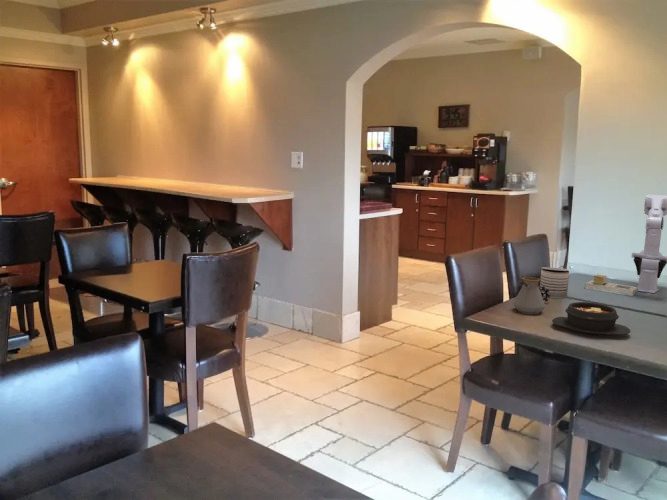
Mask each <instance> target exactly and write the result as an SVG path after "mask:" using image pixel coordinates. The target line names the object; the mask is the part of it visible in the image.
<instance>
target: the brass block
mask: <svg viewBox="0 0 667 500" xmlns="http://www.w3.org/2000/svg"><path fill="white" fill-rule="evenodd" d="M593 280H594V284H599V285H605V284H606V282H607V276H606V275H601V274H595V275H594V276H593Z"/></svg>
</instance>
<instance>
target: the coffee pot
mask: <svg viewBox="0 0 667 500" xmlns="http://www.w3.org/2000/svg"><path fill="white" fill-rule="evenodd" d="M540 279H541V278H538V277H532V276H524V277H521V280H519V282H518V285H519V286H521V288H520V290H519V292H518V294H517V295H516V297H515V299H514V301H513V305H514V308H515V309H517V311H518V312H519V313H521V314H524V315H525V314H526V315H538V314H539V313H540V312H542V311H544V309H545V307H546V303H545V300H544V301H543V299H544V298H543V297H542V295H541V292H540V289H539V288H540V286H539V284H540ZM520 282H521V284H522V285H521V284H520Z"/></svg>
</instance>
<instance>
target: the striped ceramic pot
mask: <svg viewBox="0 0 667 500" xmlns="http://www.w3.org/2000/svg"><path fill="white" fill-rule="evenodd" d="M569 278H570V269H567V268H561V267H548V266H546V267H545V266H544V267H543V266H542V267H541V271H540V278H539V279H540V281H539V288H540V289H542V288H541V287H543V286H544V287H545V290H547V289H548V290H549V292H548V294H549V295H550V297H548V298H551V299H565V298H567V297H568V289H569V280H570V279H569ZM540 292H543V293H545V292H544V291H540ZM545 297H546V294H545V296H544V298H545Z"/></svg>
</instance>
